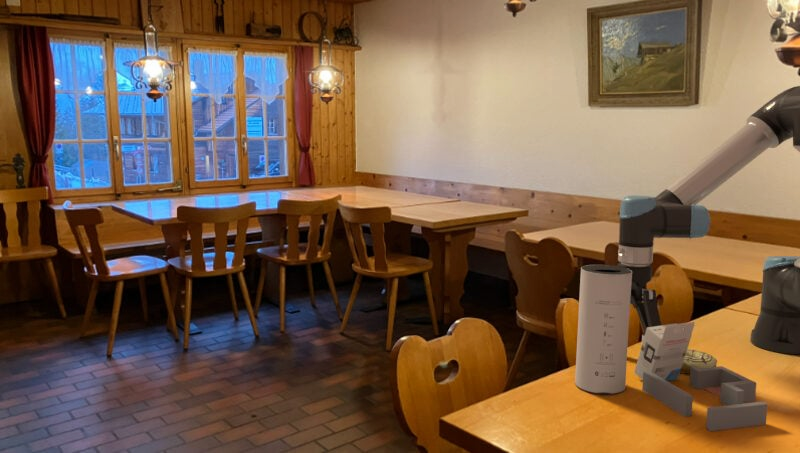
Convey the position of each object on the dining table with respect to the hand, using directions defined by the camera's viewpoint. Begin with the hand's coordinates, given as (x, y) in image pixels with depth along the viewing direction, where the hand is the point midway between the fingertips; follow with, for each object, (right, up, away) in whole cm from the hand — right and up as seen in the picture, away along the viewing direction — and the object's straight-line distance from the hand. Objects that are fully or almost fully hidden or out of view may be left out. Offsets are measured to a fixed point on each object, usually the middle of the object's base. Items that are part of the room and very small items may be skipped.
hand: (630, 352), depth 160 cm
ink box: (+2, -4, -9) cm, 10 cm away
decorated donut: (+13, -4, -2) cm, 14 cm away
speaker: (-11, -5, -13) cm, 18 cm away
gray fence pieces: (+9, -6, -23) cm, 25 cm away
